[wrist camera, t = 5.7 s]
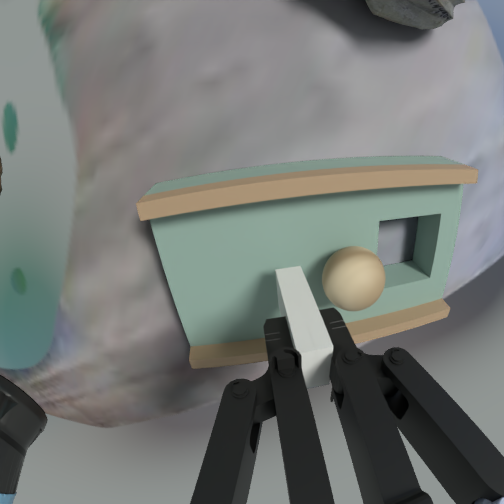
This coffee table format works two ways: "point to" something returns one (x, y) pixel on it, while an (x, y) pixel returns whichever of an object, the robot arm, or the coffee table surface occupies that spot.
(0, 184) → the rock
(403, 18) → the fossil
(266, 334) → the robot arm
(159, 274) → the coffee table surface
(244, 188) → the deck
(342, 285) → the ball
